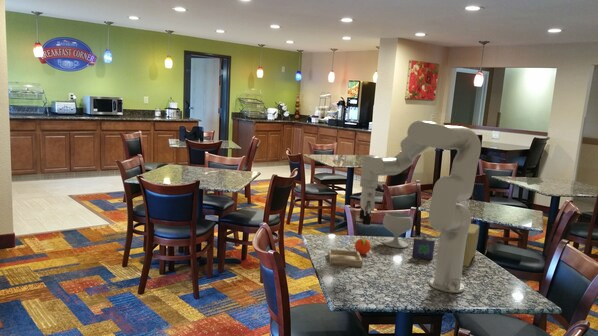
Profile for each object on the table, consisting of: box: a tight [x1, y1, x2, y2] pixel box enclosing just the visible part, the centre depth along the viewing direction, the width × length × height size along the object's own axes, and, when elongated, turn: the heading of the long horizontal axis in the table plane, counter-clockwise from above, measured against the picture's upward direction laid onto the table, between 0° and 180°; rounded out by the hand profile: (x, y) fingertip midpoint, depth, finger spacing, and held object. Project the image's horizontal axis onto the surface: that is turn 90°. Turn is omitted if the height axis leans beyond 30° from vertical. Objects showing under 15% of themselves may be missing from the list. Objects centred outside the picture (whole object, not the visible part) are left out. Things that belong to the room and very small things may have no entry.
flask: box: [411, 234, 436, 261], centre depth 207 cm, size 9×3×11 cm, turn 87°
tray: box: [327, 248, 364, 268], centre depth 196 cm, size 13×13×2 cm
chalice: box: [382, 211, 413, 249], centre depth 226 cm, size 14×14×15 cm
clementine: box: [354, 238, 371, 255], centre depth 207 cm, size 8×7×7 cm
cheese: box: [463, 223, 480, 268], centre depth 210 cm, size 22×10×15 cm, turn 162°
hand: (364, 221), depth 206 cm, fingers open, 9 cm apart
